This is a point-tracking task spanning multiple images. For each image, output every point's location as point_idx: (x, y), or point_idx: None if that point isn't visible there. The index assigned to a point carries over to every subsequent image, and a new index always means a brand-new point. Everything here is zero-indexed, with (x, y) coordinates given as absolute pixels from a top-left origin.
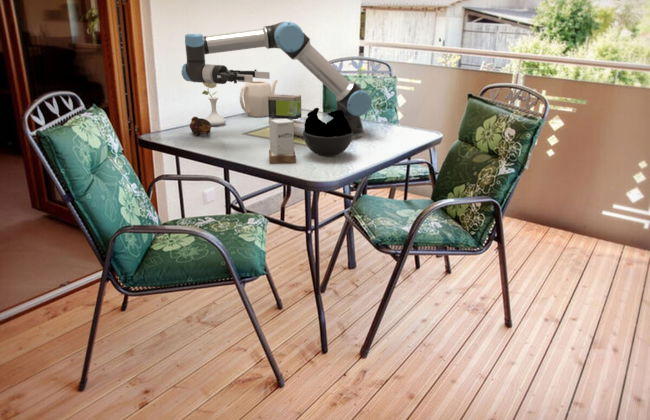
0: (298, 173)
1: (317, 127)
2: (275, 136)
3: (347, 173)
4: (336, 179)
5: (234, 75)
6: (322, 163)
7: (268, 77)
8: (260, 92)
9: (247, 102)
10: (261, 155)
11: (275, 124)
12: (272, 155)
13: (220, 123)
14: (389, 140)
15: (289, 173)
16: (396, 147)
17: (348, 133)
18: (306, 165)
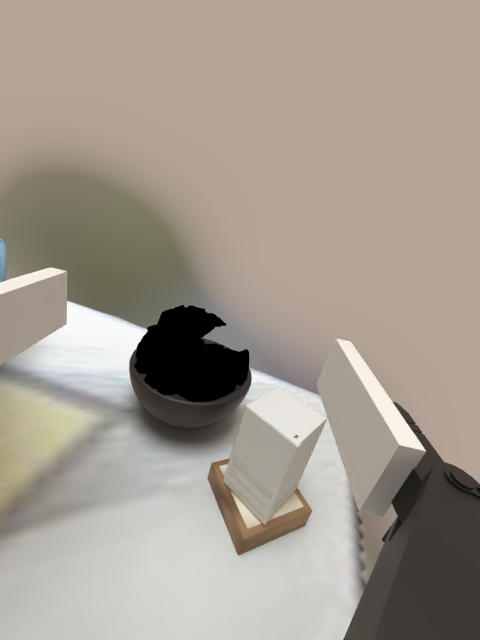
0: (325, 445)
1: (241, 363)
2: (308, 456)
3: (279, 384)
4: (314, 395)
5: (475, 487)
6: (242, 415)
7: (65, 314)
8: None
9: None
10: (226, 599)
11: (321, 427)
12: (301, 504)
13: None
14: None
15: (337, 460)
16: (99, 327)
17: (203, 339)
18: None
